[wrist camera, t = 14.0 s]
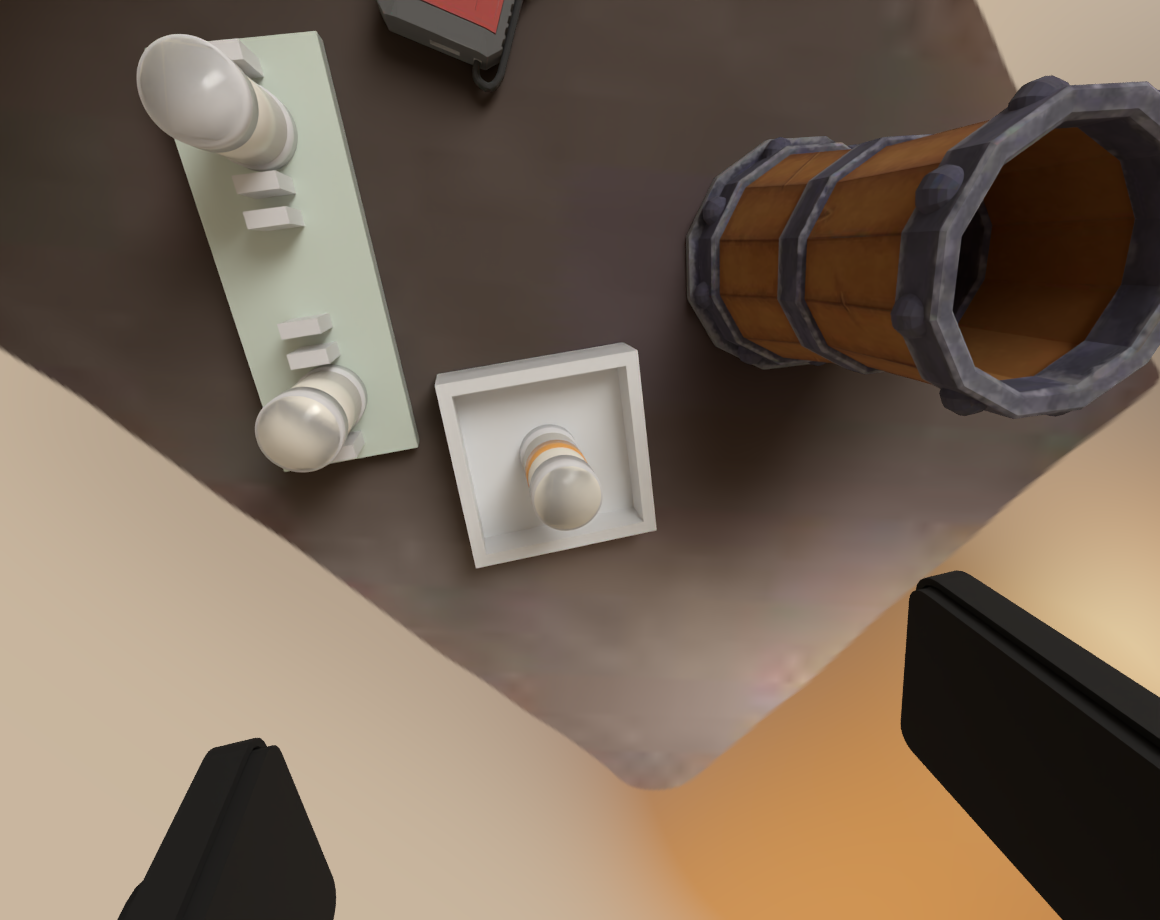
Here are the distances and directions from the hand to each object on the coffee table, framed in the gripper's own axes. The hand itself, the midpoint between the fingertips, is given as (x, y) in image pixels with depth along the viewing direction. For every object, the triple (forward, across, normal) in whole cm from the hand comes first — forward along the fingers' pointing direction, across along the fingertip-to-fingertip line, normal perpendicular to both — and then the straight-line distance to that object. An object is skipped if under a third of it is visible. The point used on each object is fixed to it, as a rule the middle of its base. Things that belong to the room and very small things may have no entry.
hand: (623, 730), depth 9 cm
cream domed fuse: (+30, +10, -14) cm, 35 cm away
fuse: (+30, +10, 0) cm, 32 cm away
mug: (+32, -22, -4) cm, 39 cm away
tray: (+32, -2, +6) cm, 32 cm away
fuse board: (+32, +10, -7) cm, 34 cm away
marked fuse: (+31, -2, +6) cm, 31 cm away
